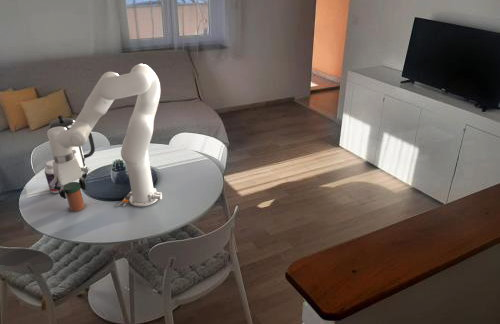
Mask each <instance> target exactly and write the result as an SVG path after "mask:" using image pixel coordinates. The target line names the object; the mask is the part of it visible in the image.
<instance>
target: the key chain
mask: <svg viewBox="0 0 500 324" xmlns="http://www.w3.org/2000/svg"><path fill="white" fill-rule="evenodd" d="M131 196H132V191H131V190H130V192H128V193H127V195H125V197H124V198H123V199H122V201H121V202H120V203H118V204H117V205H115V207H118V206H120V205H122V204H123V205H122V207H125V206H126V205H127V204H128V203H130V201H129V199H130V197H131Z"/></svg>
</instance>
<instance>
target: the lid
mask: <svg viewBox="0 0 500 324" xmlns="http://www.w3.org/2000/svg"><path fill="white" fill-rule="evenodd" d="M63 190H64V191H65V194H66V193H74V192H77V191H79V190H82V189H81V185H80V183H79V181H73V182H70V183H68V184H65V185H64V188H63Z"/></svg>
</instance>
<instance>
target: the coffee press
mask: <svg viewBox="0 0 500 324" xmlns="http://www.w3.org/2000/svg"><path fill="white" fill-rule="evenodd" d="M74 122H75V120H74V119H73V118H69V117H64V116H63V115H62V114H59V115H58V116H57V119H54V120H53V121H51V122H50V123H49V126H48V130H49V129H51V128H54V127H65V128H66V129H67V130H69V129H70V128H71V126H72V125H73V123H74ZM88 143H89V146H90V150H89V152H88V153H86V154H84V152H83V148H82V147H83V146H80V147H72V150H76V153H75V154H74V156H75V157H76V159H77V160H78V163H79V165H80V167H81V168H86V169H88V170H89V167H88V166H87V165H86V159H87V158H90V157H91V156H93V155H94V153H95V151H96V147H95V142H94V137H93V134H92V131H91V132H90V134H89V136H88Z"/></svg>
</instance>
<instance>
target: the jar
mask: <svg viewBox="0 0 500 324" xmlns="http://www.w3.org/2000/svg"><path fill="white" fill-rule="evenodd" d="M65 194H66V199H67V204H68V208H69V211H71V212H79V211H81V210H83V209H85V202H84V198H83V194H82V189H80V190H79V191H77V192H74V193H65Z"/></svg>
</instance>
